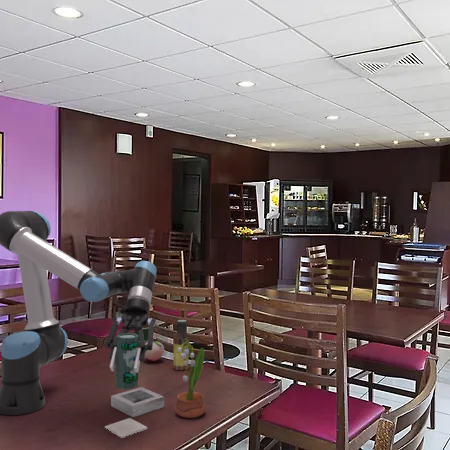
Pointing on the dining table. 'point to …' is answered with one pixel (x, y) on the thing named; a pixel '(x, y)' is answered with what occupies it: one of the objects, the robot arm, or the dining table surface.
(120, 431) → the tile
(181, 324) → the sauce bottle
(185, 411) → the potted flower
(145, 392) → the collar
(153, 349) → the decorative fruit
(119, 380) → the can
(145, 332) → the beer bottle
